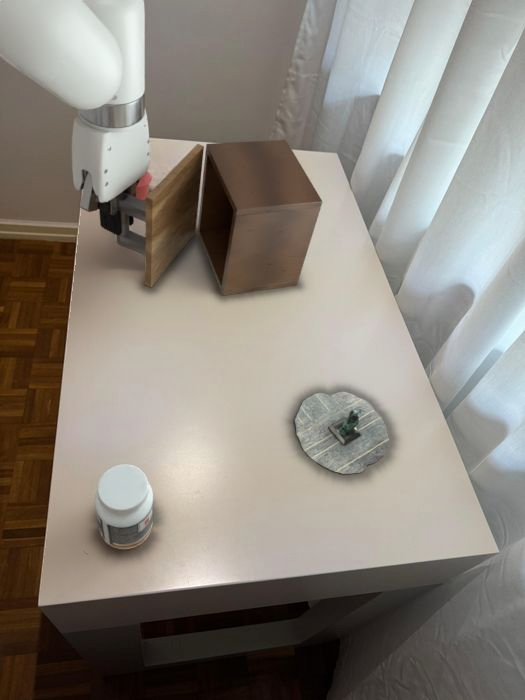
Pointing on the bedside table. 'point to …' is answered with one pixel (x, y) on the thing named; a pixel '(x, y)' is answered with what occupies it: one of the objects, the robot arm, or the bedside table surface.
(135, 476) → the pill bottle
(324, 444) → the sculpture
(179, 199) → the door
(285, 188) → the cabinet
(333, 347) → the bedside table surface
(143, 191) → the figurine
